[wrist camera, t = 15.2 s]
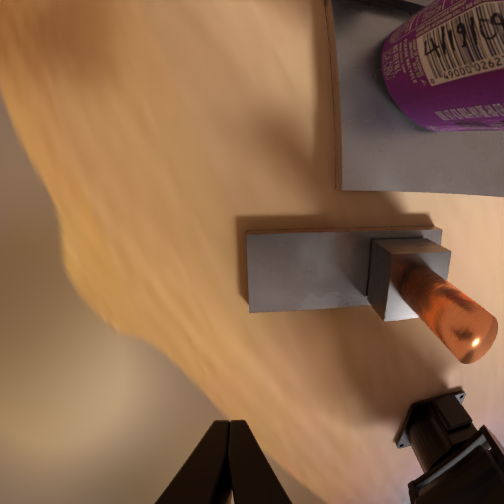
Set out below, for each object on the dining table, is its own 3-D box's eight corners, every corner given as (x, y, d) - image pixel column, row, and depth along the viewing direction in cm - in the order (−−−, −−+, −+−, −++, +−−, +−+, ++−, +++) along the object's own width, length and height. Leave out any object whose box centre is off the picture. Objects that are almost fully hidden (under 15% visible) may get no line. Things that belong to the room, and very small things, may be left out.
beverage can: (446, 154, 17) (604, 177, 5) (356, 86, 16) (498, 15, 4) (479, 75, 15) (614, 53, 4) (400, 8, 14) (515, -77, 2)
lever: (419, 294, 20) (494, 368, 11) (367, 299, 20) (430, 386, 11) (426, 238, 19) (518, 291, 10) (372, 239, 19) (454, 302, 10)
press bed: (498, 194, 19) (584, 220, 10) (335, 187, 19) (401, 215, 10) (486, 26, 15) (560, 0, 6) (322, -16, 15) (362, -95, 6)
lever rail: (426, 292, 21) (432, 298, 20) (249, 305, 21) (249, 312, 20) (434, 226, 20) (442, 229, 19) (246, 230, 20) (245, 234, 19)
